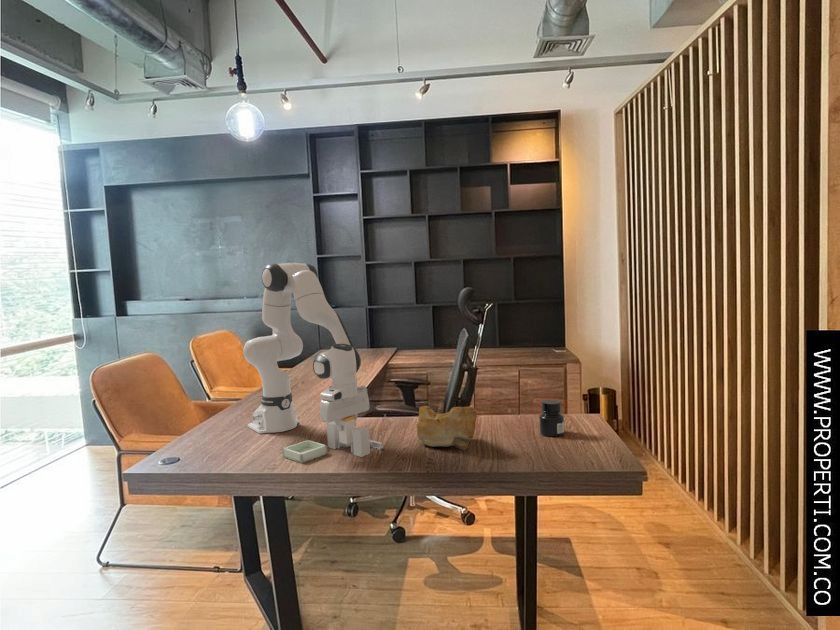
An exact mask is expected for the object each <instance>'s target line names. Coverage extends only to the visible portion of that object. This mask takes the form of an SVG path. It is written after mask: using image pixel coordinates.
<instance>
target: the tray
mask: <svg viewBox="0 0 840 630" xmlns="http://www.w3.org/2000/svg"><path fill="white" fill-rule="evenodd" d="M322 455H323V456H325V455H328V444H327V445H326V444H324V443H320V442H316V441H313V440H310V439H306V440H304V441H300V442H297V443H294V444H292V445H288V446H286V447H283V448H282V458H285V459H288V460H290V459H291V461H294V462H296V463H299V464H304V463H307V462H310V461H312V460H314V458H315V459H317V458H319V457H322Z"/></svg>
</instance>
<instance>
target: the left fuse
mask: <svg viewBox="0 0 840 630" xmlns="http://www.w3.org/2000/svg"><path fill="white" fill-rule="evenodd" d="M326 439H327V448H329V449H332V448H333V450H337V449H338V441H339V431H338V429H337V425H336V424H335V422H334V421H333V422H330V423H326ZM336 448H337V449H336Z"/></svg>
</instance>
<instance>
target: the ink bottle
mask: <svg viewBox="0 0 840 630" xmlns="http://www.w3.org/2000/svg"><path fill="white" fill-rule="evenodd" d="M561 404H562V402H561V401H560V400H558V399H544V400H541V411H542V413H541V414H539V418H538V419H539V421H538V422H539V433H540V434H541V435H542V436H545V437H555V438H556V437H561V436H564V434H565V417H564V415H563V414H562V413H561V412H562V405H561Z"/></svg>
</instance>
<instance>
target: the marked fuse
mask: <svg viewBox="0 0 840 630" xmlns="http://www.w3.org/2000/svg"><path fill="white" fill-rule="evenodd" d="M340 423H341V425H343V426H344V430H343V431H339V442H341V443H344V444H349V443H352V442H353V432H352V429H355V428H356V426H355V424H356V422H354V416H349V417H346V418H342V419H341V422H340Z"/></svg>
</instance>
